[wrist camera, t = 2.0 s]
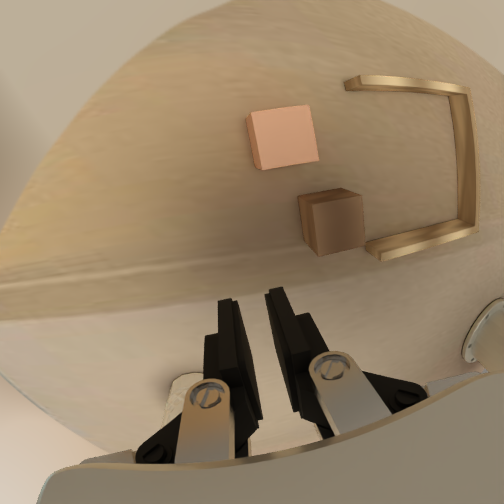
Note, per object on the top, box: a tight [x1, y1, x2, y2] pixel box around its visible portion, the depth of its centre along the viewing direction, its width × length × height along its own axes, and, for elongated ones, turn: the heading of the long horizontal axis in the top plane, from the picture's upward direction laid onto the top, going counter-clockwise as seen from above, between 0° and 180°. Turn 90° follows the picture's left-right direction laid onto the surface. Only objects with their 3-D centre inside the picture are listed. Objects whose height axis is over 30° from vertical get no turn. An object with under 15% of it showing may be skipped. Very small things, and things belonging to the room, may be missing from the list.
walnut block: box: [298, 188, 365, 257], centre depth 22 cm, size 4×4×4 cm
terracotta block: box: [246, 105, 319, 170], centre depth 19 cm, size 4×4×4 cm
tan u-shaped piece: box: [344, 75, 480, 262], centre depth 21 cm, size 14×16×3 cm
